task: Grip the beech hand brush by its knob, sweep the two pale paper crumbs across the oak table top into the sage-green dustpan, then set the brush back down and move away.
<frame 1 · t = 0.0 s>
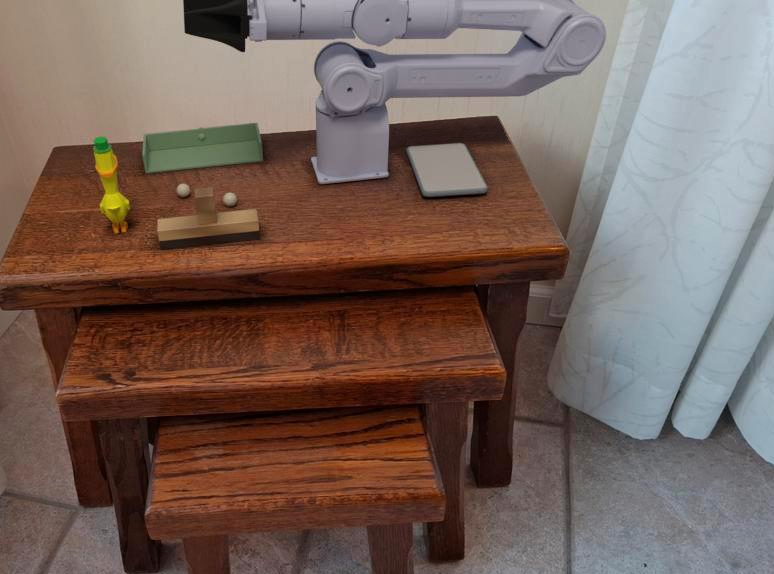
hand: (183, 14, 90), 22 cm above the table, tool horizontal, fingers open, 7 cm apart
dustpan: (203, 157, 111), on the table
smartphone: (444, 173, 103), on the table
crumb a: (230, 199, 99), point 1 cm above the table
brush: (210, 238, 93), on the table
crumb b: (183, 190, 102), point 1 cm above the table
toy figure: (120, 229, 97), on the table
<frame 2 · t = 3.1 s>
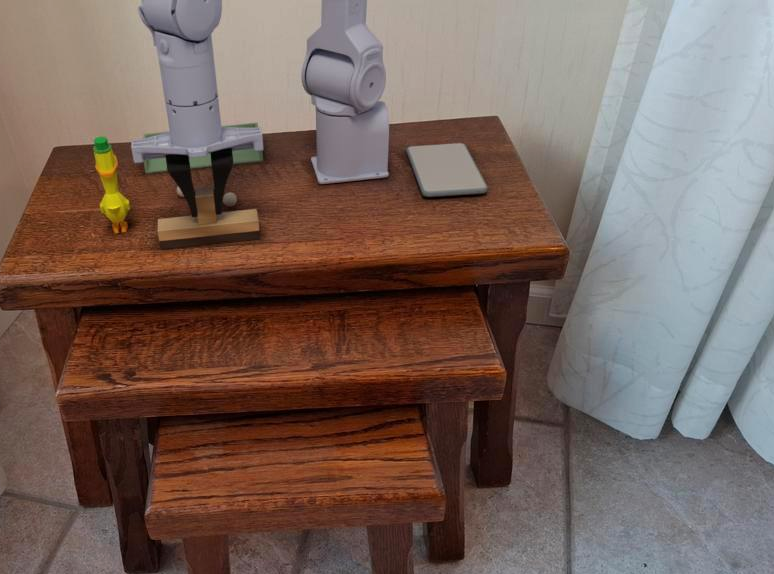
hand: (206, 212, 91), 4 cm above the table, tool pointing down, fingers closed on brush, 2 cm apart
brush: (210, 238, 93), on the table, touching gripper
everything else where it was.
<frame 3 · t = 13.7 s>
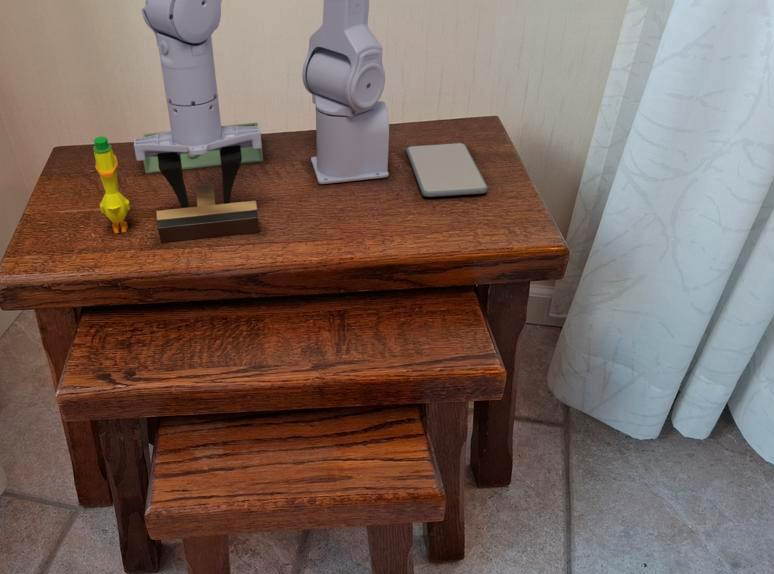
hand: (206, 208, 94), 3 cm above the table, tool pointing down, fingers closed on brush, 4 cm apart
crumb a: (233, 145, 111), point 1 cm above the table, tilted 42°, touching dustpan
brush: (209, 230, 92), point 1 cm above the table, tilted 67°, touching gripper
crumb b: (192, 151, 110), point 1 cm above the table, tilted 51°, touching dustpan
everything else where it was.
when the fingers open (3 cm above the table, at t = 14.2 s): brush stays where it is and tips over, point 1 cm above the table.
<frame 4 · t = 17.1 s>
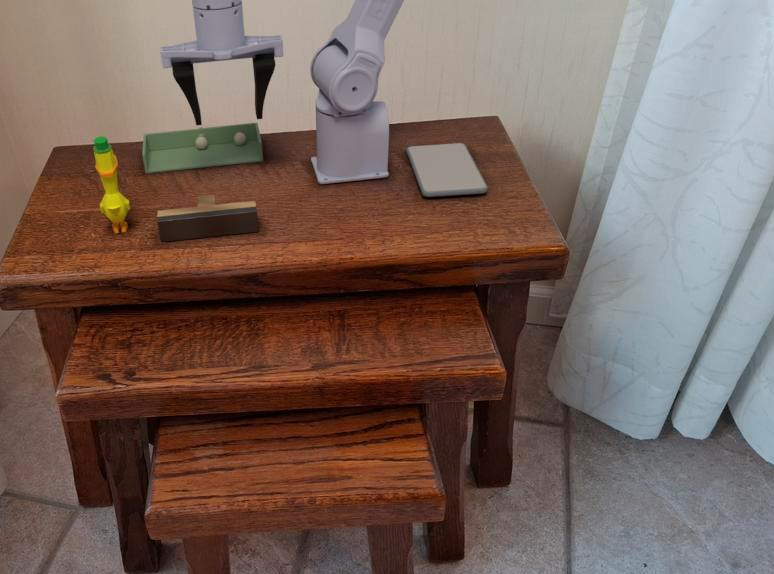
hand: (229, 119, 97), 9 cm above the table, tool pointing down, fingers open, 7 cm apart
crumb a: (239, 138, 113), point 1 cm above the table, tilted 123°, touching dustpan
brush: (208, 226, 92), point 1 cm above the table, tilted 90°
crumb b: (201, 142, 112), point 1 cm above the table, tilted 118°, touching dustpan
everything else where it was.
at the end: crumb a inside the target area in the dustpan (5.9 cm from its centre), point 1.2 cm above the dustpan's base; crumb b inside the target area in the dustpan (1.8 cm from its centre), point 1.2 cm above the dustpan's base; the gripper is holding nothing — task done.
